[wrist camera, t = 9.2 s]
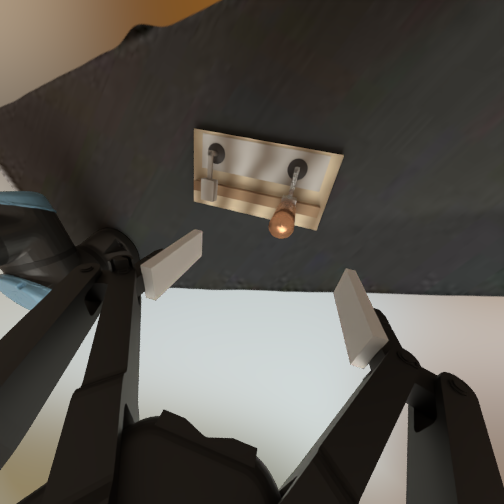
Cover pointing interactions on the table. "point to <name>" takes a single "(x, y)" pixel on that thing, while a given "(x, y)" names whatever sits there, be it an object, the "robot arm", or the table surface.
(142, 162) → the table surface
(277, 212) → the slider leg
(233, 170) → the holed mounting plate
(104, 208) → the table surface
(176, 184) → the table surface
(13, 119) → the table surface
